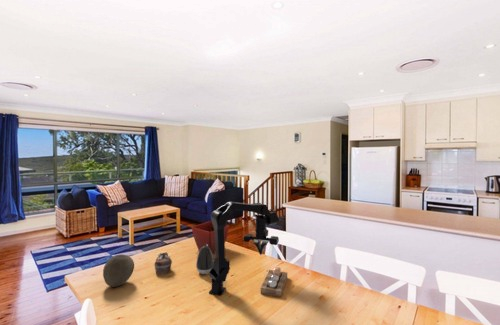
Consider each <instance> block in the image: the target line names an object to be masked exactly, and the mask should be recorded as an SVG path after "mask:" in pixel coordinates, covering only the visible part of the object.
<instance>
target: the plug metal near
mask: <svg viewBox="0 0 500 325" xmlns="http://www.w3.org/2000/svg"><path fill="white" fill-rule="evenodd" d="M268 287H270V288H276V289H277V281H276V280H275V279H270V280H269V281H268Z"/></svg>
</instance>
